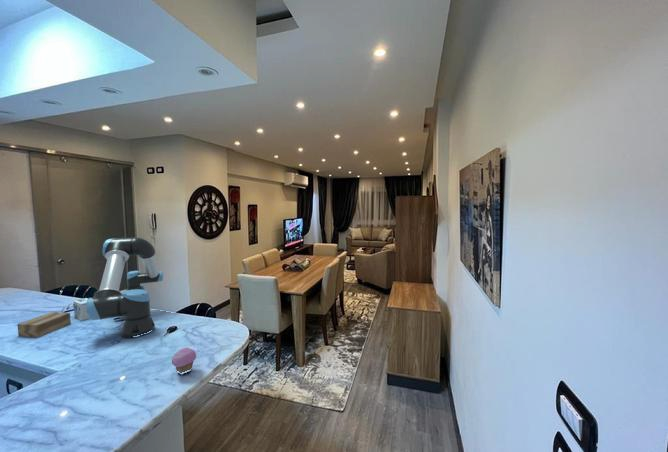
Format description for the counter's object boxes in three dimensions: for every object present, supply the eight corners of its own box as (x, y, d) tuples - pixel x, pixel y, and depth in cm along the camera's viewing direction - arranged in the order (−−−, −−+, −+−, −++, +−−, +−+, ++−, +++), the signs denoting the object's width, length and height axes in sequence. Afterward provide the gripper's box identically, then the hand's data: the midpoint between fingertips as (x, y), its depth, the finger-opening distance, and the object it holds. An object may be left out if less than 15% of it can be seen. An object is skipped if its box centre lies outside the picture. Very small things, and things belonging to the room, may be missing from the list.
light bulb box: (74, 317, 166) (72, 300, 165) (87, 313, 172) (86, 297, 171) (81, 321, 161) (80, 303, 160) (95, 316, 167) (94, 300, 166)
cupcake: (191, 363, 117) (190, 342, 116) (200, 371, 112) (199, 349, 111) (169, 373, 110) (167, 350, 110) (177, 382, 105) (176, 358, 104)
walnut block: (70, 324, 157) (69, 313, 156) (38, 337, 141) (37, 325, 140) (52, 323, 158) (51, 312, 157) (18, 336, 142) (17, 324, 141)
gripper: (132, 304, 181) (95, 316, 161) (108, 299, 190) (71, 310, 170) (131, 293, 181) (94, 304, 161) (108, 289, 189) (70, 299, 169)
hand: (82, 307), depth 165 cm, fingers open, 13 cm apart
